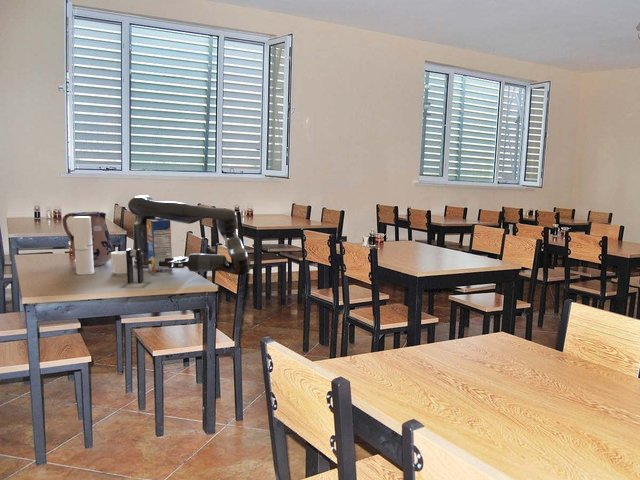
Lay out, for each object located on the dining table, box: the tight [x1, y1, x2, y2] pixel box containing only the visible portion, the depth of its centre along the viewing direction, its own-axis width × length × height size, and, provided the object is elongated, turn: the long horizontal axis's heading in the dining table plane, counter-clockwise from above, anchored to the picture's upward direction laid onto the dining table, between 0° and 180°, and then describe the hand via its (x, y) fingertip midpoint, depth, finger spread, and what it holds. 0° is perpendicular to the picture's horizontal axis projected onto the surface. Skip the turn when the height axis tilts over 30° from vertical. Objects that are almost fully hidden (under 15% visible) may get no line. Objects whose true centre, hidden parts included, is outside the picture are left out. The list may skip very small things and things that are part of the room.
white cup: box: [110, 250, 127, 275], centre depth 285 cm, size 8×8×10 cm
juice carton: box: [146, 217, 173, 274], centre depth 290 cm, size 12×8×24 cm, turn 34°
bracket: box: [125, 248, 145, 284], centre depth 264 cm, size 10×8×15 cm
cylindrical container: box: [72, 216, 95, 276], centre depth 286 cm, size 7×7×25 cm
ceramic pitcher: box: [62, 211, 114, 267], centre depth 306 cm, size 18×21×25 cm
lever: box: [130, 249, 152, 265], centre depth 268 cm, size 14×7×2 cm, turn 3°
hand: (161, 262), depth 275 cm, fingers open, 8 cm apart
